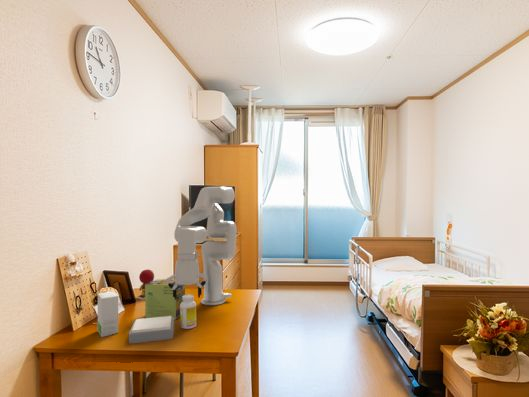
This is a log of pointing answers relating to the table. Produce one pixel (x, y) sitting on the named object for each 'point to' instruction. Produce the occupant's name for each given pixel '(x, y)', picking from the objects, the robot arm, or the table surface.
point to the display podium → (152, 329)
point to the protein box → (162, 299)
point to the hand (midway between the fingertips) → (187, 297)
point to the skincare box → (107, 313)
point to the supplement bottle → (188, 312)
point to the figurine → (145, 281)
